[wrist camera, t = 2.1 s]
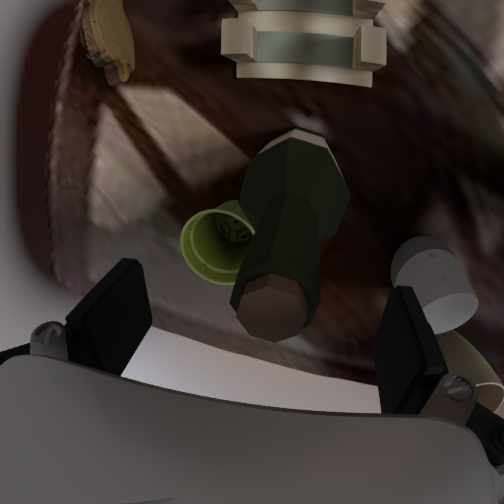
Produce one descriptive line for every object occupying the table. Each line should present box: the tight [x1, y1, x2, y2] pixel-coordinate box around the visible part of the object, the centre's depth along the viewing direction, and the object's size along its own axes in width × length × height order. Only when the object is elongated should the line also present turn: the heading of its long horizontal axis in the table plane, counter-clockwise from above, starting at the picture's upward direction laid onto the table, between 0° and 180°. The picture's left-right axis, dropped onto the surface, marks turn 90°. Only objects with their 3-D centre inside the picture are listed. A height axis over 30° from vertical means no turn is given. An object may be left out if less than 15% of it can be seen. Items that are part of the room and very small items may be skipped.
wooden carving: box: [80, 0, 135, 86], centre depth 28 cm, size 16×5×10 cm, turn 19°
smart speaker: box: [391, 236, 478, 334], centre depth 34 cm, size 10×9×14 cm
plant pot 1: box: [180, 200, 255, 285], centre depth 38 cm, size 9×9×9 cm
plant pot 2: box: [435, 330, 504, 413], centre depth 39 cm, size 15×15×16 cm
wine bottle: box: [230, 126, 351, 343], centre depth 24 cm, size 8×8×30 cm
